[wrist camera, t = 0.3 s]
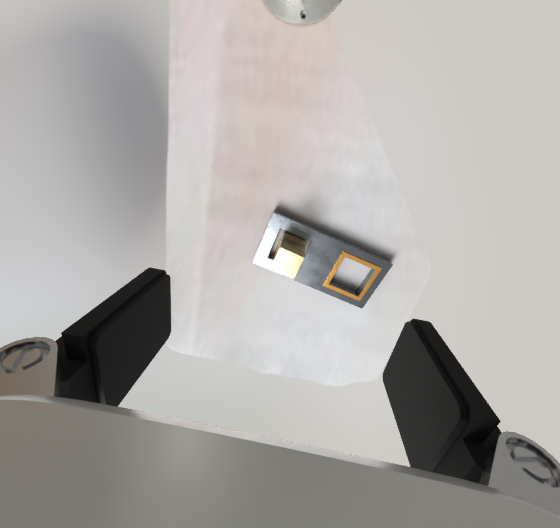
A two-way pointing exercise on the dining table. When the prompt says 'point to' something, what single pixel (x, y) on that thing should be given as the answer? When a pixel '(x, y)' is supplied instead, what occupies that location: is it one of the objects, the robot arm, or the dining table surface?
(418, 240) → the dining table surface
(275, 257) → the brass plug
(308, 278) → the socket plate
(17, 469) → the robot arm
